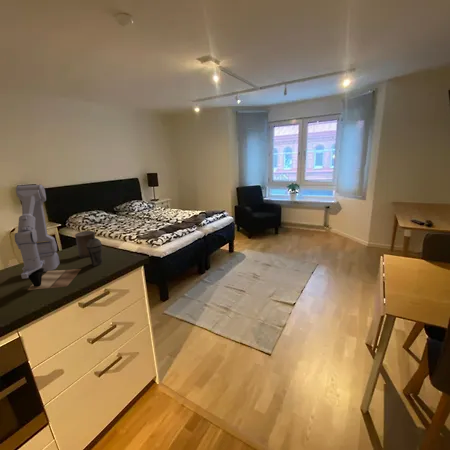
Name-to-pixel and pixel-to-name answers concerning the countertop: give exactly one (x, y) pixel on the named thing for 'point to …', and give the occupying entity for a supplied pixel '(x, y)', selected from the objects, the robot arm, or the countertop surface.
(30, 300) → the countertop surface
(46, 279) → the plank
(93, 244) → the beverage cup
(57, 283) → the laid board
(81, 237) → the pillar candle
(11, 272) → the countertop surface
